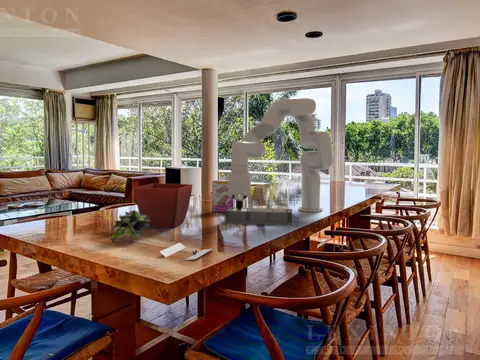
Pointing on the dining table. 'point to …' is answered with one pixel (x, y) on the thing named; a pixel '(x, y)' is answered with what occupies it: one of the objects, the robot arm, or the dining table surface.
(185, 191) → the plant pot
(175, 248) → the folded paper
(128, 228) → the green leaves
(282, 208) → the key sage
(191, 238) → the dining table surface
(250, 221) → the grey button panel
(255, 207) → the key terracotta
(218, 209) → the candy bar box
